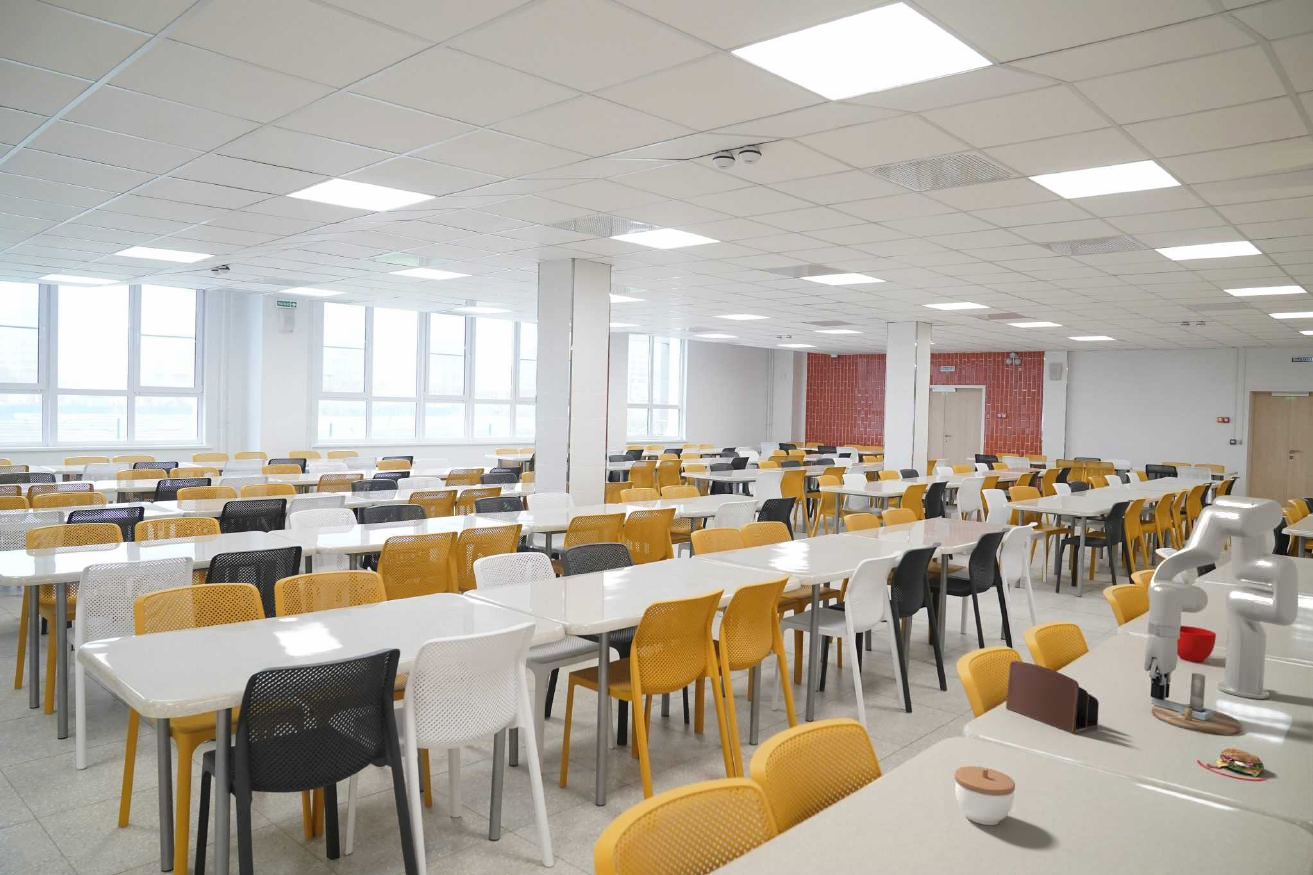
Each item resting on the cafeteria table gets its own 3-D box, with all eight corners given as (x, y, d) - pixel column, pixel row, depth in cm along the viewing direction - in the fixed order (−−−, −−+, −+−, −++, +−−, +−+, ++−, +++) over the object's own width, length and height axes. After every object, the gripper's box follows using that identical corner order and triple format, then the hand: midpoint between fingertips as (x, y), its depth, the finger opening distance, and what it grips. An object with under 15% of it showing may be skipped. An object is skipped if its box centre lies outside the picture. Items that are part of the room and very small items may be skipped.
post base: (1169, 702, 237) (1172, 659, 237) (1253, 725, 222) (1256, 679, 221) (1139, 715, 225) (1142, 670, 225) (1225, 740, 209) (1228, 691, 209)
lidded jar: (943, 804, 166) (946, 757, 166) (995, 804, 167) (998, 757, 166) (968, 831, 155) (971, 780, 155) (1023, 831, 156) (1026, 781, 156)
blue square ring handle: (1213, 716, 223) (1214, 688, 222) (1204, 720, 219) (1206, 691, 219) (1157, 701, 233) (1159, 674, 233) (1148, 704, 230) (1150, 677, 229)
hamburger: (1204, 752, 202) (1206, 727, 202) (1276, 772, 192) (1277, 746, 192) (1189, 767, 192) (1190, 741, 192) (1263, 788, 182) (1265, 760, 182)
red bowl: (1213, 656, 291) (1215, 628, 291) (1214, 667, 277) (1216, 637, 277) (1169, 649, 298) (1171, 621, 298) (1168, 660, 284) (1170, 630, 284)
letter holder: (1073, 735, 208) (1077, 678, 208) (1005, 709, 225) (1008, 657, 225) (1098, 729, 213) (1101, 674, 213) (1029, 704, 230) (1032, 653, 230)
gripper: (1161, 624, 238) (1157, 688, 238) (1136, 630, 228) (1132, 698, 228) (1190, 630, 232) (1186, 696, 232) (1166, 637, 222) (1162, 706, 222)
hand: (1159, 696), depth 230 cm, fingers closed on blue square ring handle, 2 cm apart
